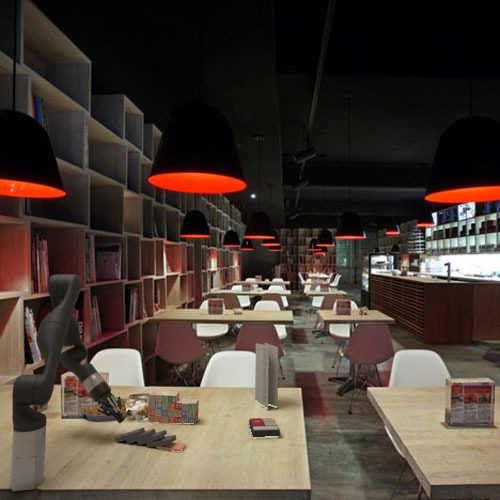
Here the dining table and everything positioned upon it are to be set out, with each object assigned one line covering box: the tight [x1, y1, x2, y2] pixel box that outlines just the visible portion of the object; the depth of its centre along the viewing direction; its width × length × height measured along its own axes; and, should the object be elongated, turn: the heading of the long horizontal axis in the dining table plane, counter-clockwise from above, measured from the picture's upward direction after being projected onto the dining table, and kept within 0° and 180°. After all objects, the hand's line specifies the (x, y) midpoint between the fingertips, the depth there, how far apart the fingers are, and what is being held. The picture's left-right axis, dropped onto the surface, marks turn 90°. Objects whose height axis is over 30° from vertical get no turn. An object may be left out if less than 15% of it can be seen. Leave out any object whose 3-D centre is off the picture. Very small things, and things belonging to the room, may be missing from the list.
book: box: [248, 417, 281, 437], centre depth 170 cm, size 11×4×15 cm
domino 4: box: [145, 434, 177, 448], centre depth 154 cm, size 2×5×10 cm
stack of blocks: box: [148, 390, 200, 425], centre depth 180 cm, size 21×6×12 cm, turn 83°
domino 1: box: [115, 427, 146, 444], centre depth 158 cm, size 2×5×10 cm
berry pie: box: [82, 398, 126, 422], centre depth 188 cm, size 22×22×5 cm
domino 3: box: [137, 429, 168, 446], centre depth 155 cm, size 2×5×10 cm
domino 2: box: [125, 428, 157, 445], centre depth 157 cm, size 2×5×10 cm
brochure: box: [254, 342, 279, 409], centre depth 204 cm, size 14×6×30 cm, turn 25°
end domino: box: [156, 441, 188, 451], centre depth 153 cm, size 2×5×10 cm
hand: (122, 421), depth 159 cm, fingers closed
